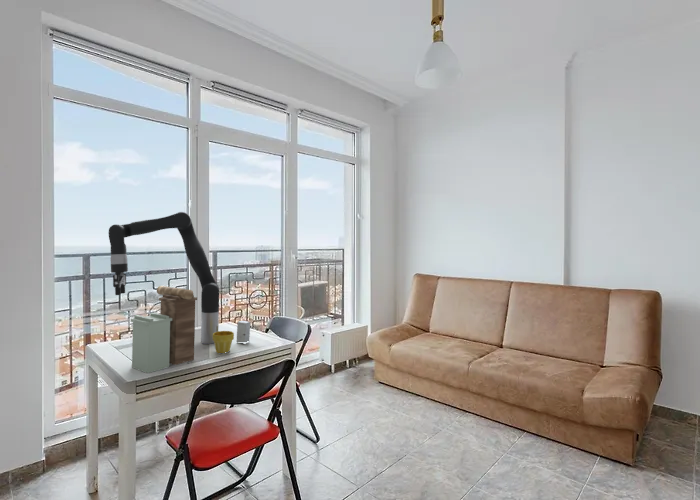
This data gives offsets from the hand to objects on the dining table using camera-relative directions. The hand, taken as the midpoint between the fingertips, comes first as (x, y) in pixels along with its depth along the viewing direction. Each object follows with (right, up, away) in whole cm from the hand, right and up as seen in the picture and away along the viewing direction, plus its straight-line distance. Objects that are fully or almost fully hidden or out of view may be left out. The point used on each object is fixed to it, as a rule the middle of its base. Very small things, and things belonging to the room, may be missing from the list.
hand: (120, 294), depth 199 cm
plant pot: (+54, -30, -1) cm, 62 cm away
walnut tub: (+37, -30, -16) cm, 50 cm away
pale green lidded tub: (+30, -30, -28) cm, 50 cm away
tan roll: (+35, 0, -16) cm, 39 cm away
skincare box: (+59, -30, +17) cm, 68 cm away
